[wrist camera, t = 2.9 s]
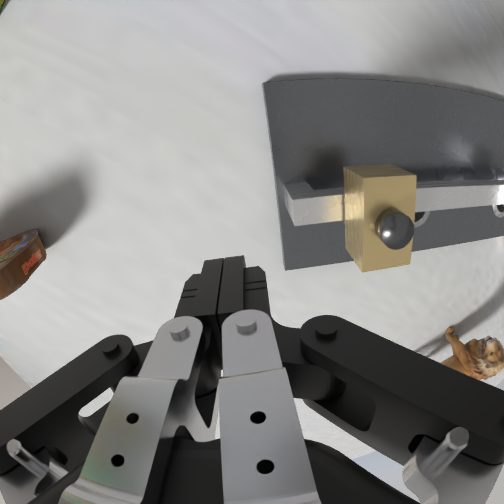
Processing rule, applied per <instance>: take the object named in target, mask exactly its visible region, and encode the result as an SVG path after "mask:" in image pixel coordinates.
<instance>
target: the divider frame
mask: <svg viewBox="0 0 504 504" xmlns="http://www.w3.org/2000/svg"><path fill="white" fill-rule="evenodd" d="M284 193H285V203H286V208H287V210H288V212H289V214H290V216H291V219H292V221H293V223H294V226H300V225H308V224H317V223H325V222H333V221H342V220H345V193H344V187H339V188H329V189H319V190H313V189H312V188H311V186H310V185H309V184H308V183H307V182H299V183H290V184H284ZM500 204H504V180H449V181H424V182H416V204H415V212H424V211H434V210H444V209H454V208H465V207H476V206H488V205H500Z"/></svg>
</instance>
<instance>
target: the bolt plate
mask: <svg viewBox="0 0 504 504" xmlns="http://www.w3.org/2000/svg"><path fill="white" fill-rule="evenodd" d="M262 87H263V94H264V101H265V108H266V115H267V122H268V130H269V138H270V145H271V153H272V161H273V170H274V178H275V187H276V195H277V204H278V213H279V223H280V232H281V242H282V252H283V262H284V268H285V270H292V269H300V268H307V267H314V266H321V265H328V264H335V263H342V262H349V261H354V260H353V258H352V257H351V255H350V254H349V253H348V251H347V250H346V248H345V224H344V220H342V221H333V222H325V223H317V224H308V225H300V226H294V223H293V221H292V219H291V216H290V214H289V212H288V210H287V208H286V203H285V193H284V184H290V183H299V182H307V183H308V184H309V185H310V186H311V188H312V189H313V190H319V189H329V188H339V187H344V171H343V167H347V166H362V165H381V164H391V165H394V166H396V167H399V168H401V169H403V170H406V171H408V172H410V173H413V174H415V175H417V176H416V182H424V181H449V180H504V101H502V100H499V99H495V98H491V97H487V96H483V95H479V94H475V93H470V92H466V91H461V90H455V89H450V88H444V87H438V86H432V85H424V84H417V83H408V82H398V81H385V80H368V79H306V80H289V81H276V82H265V83H263V84H262ZM499 236H504V204H500V205H488V206H476V207H465V208H454V209H444V210H434V211H424V212H415V219H414V234H413V242H412V251H411V252H413V251H419V250H425V249H431V248H437V247H443V246H449V245H455V244H460V243H466V242H472V241H477V240H483V239H488V238H494V237H499Z"/></svg>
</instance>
